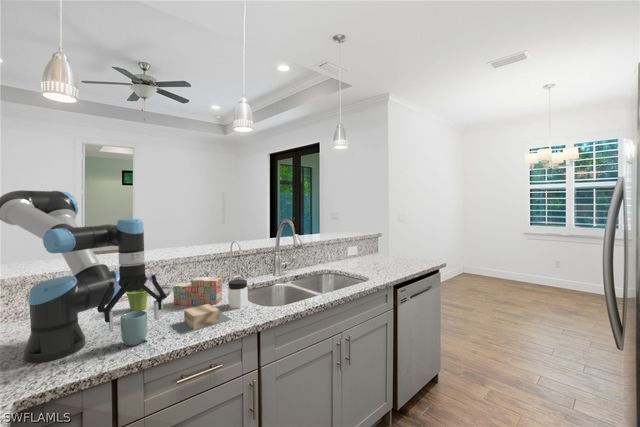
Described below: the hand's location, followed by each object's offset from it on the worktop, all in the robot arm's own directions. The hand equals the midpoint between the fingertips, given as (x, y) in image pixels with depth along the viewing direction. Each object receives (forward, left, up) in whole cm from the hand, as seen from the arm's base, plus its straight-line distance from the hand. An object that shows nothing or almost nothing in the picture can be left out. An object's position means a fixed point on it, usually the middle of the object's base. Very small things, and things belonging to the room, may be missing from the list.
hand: (134, 325), depth 103 cm
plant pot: (+9, +37, -7) cm, 39 cm away
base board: (+23, -1, -6) cm, 24 cm away
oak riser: (+23, -1, -5) cm, 23 cm away
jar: (+43, +7, -7) cm, 44 cm away
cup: (0, 0, -7) cm, 7 cm away
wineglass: (+15, +22, -7) cm, 28 cm away
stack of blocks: (+31, +26, -7) cm, 41 cm away
